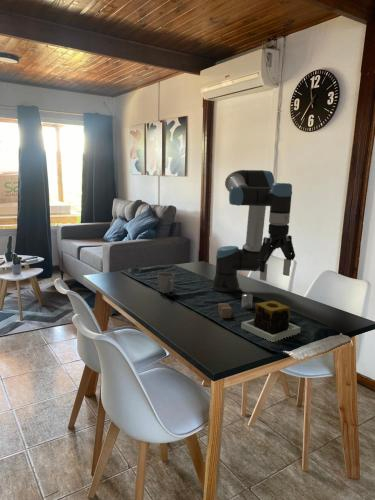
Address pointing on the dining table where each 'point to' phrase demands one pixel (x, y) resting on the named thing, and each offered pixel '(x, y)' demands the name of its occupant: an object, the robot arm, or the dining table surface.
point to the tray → (275, 337)
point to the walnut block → (224, 310)
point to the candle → (271, 317)
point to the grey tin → (247, 301)
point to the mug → (166, 282)
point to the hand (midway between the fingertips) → (274, 277)
